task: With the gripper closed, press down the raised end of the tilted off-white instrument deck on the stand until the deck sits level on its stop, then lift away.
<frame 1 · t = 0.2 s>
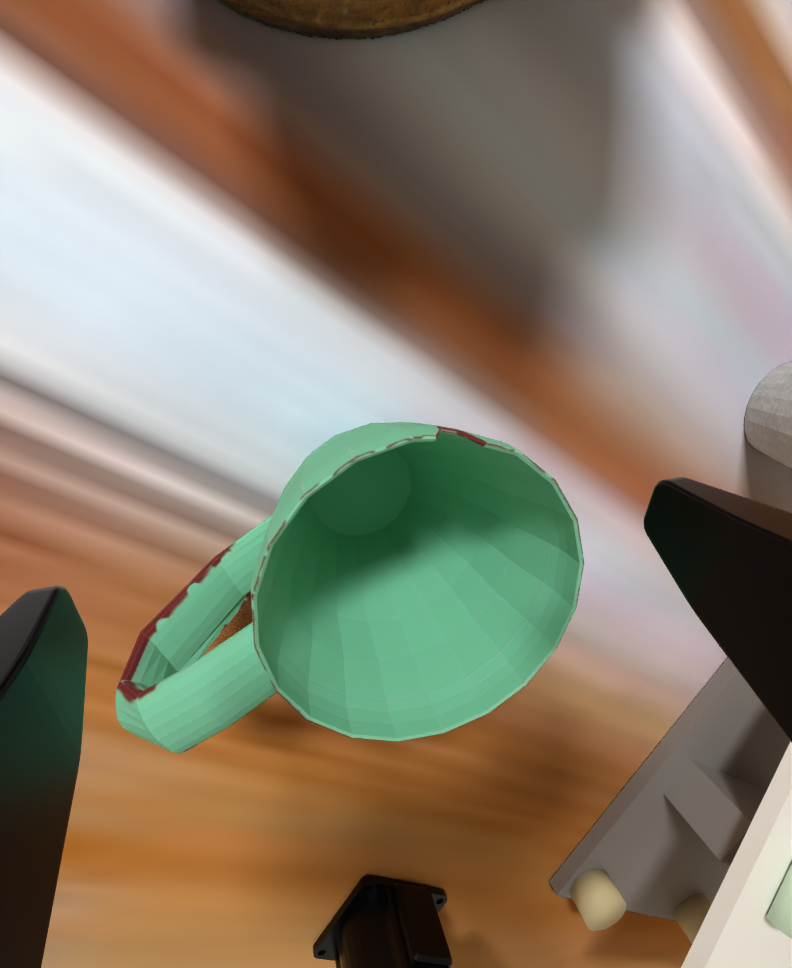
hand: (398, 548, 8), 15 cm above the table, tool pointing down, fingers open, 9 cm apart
stand: (716, 784, 39), on the table
mug: (311, 509, 24), on the table
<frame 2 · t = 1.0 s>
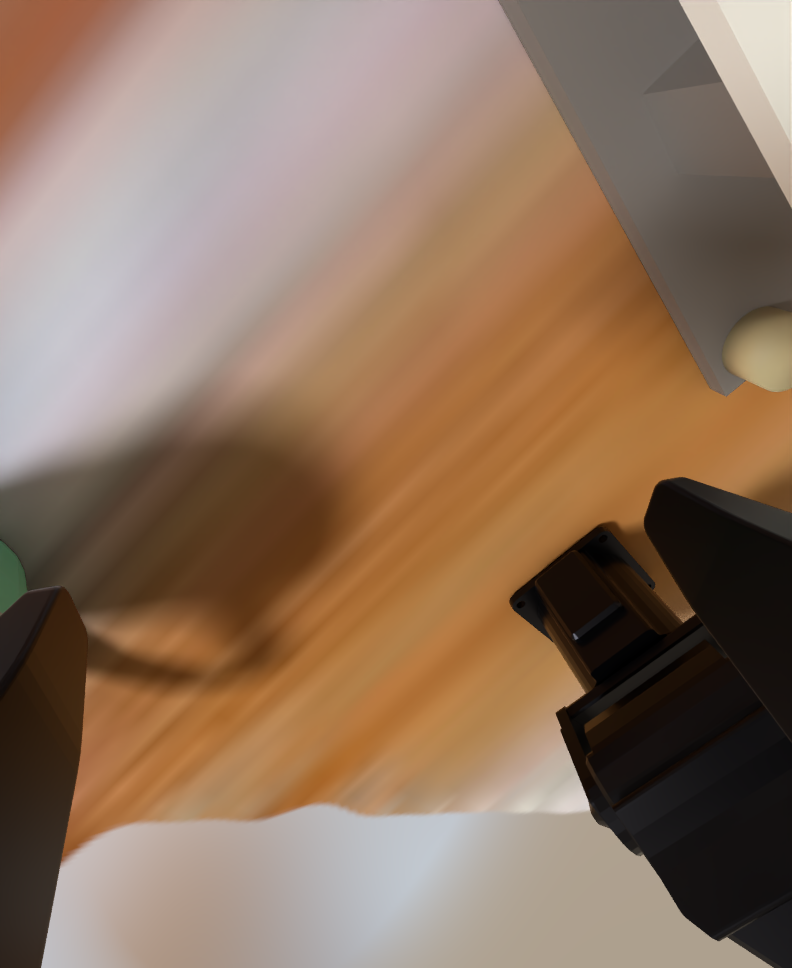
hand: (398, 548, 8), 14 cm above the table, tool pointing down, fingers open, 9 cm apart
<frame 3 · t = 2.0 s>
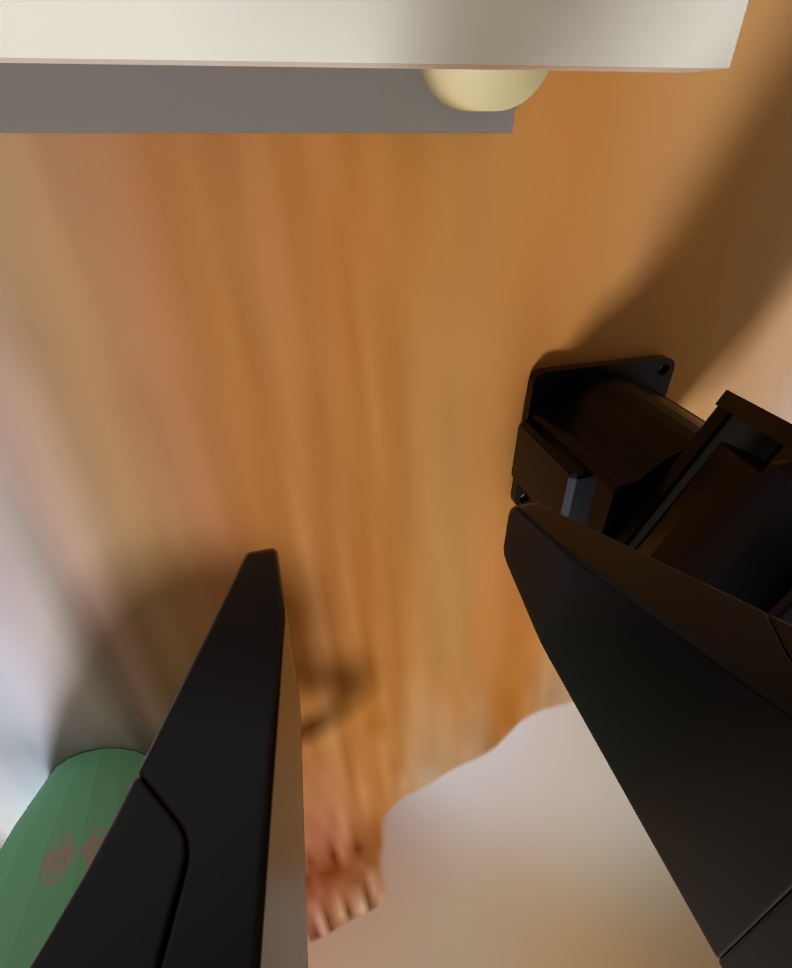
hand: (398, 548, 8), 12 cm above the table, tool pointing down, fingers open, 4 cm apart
mug: (152, 774, 29), on the table
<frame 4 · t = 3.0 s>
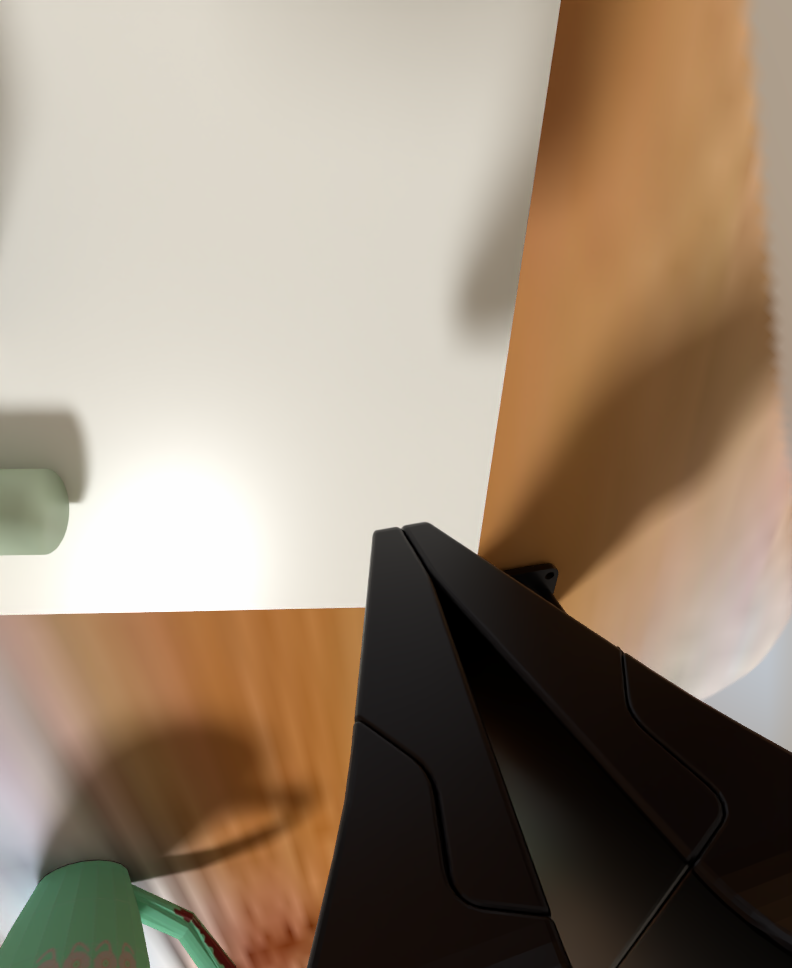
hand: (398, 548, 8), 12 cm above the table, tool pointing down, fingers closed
mug: (126, 877, 34), on the table
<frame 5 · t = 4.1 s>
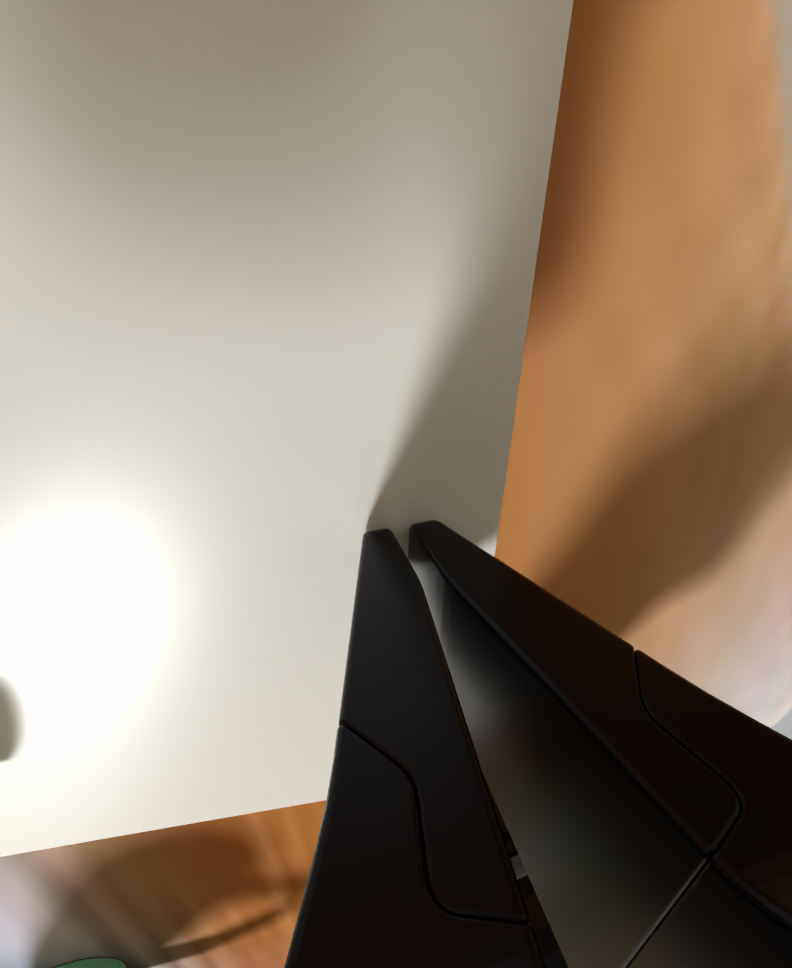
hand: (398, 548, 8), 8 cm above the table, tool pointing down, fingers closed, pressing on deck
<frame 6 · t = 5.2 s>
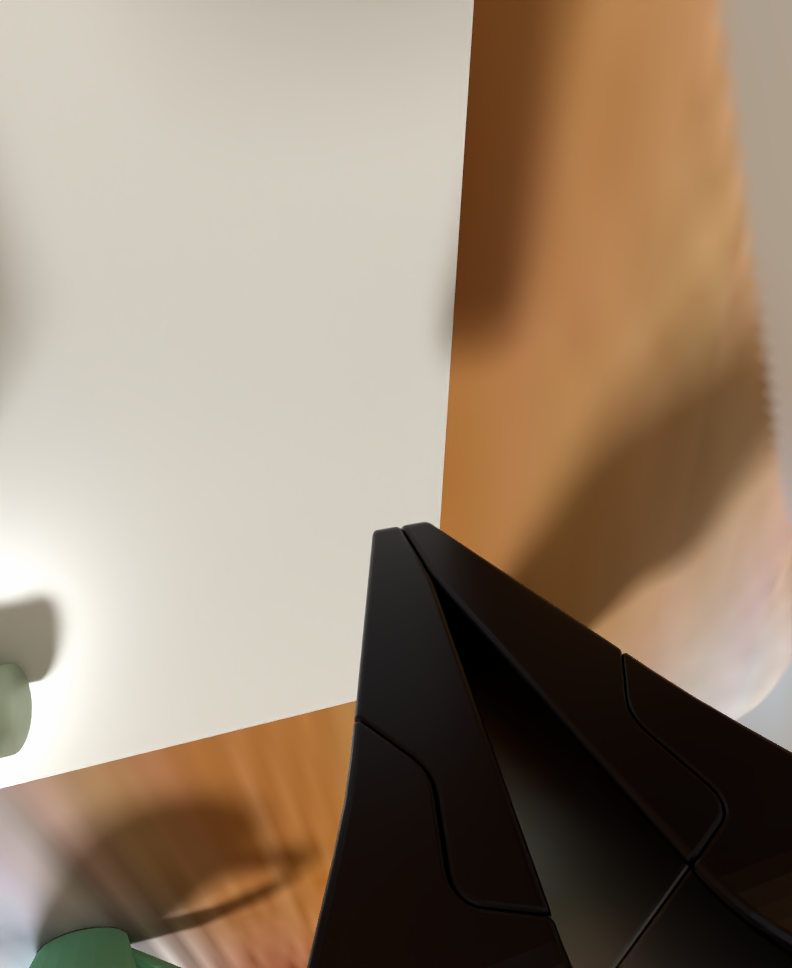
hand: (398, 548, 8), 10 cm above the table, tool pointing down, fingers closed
mug: (126, 939, 34), on the table
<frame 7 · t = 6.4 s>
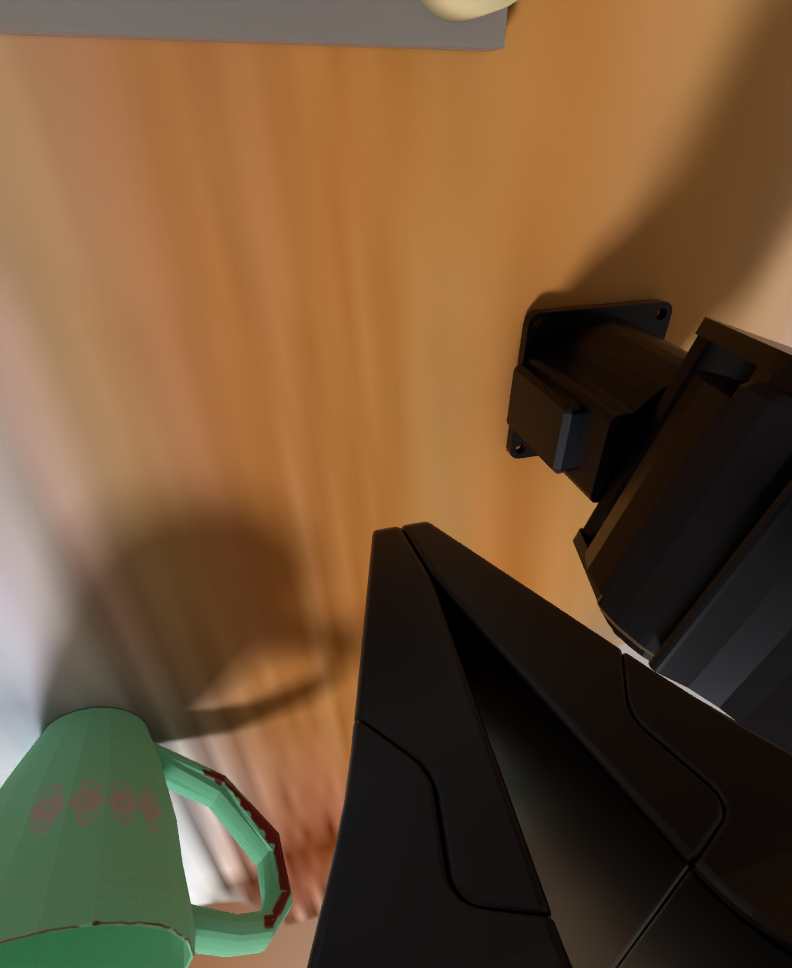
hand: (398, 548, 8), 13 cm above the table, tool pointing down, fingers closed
mug: (146, 737, 29), on the table
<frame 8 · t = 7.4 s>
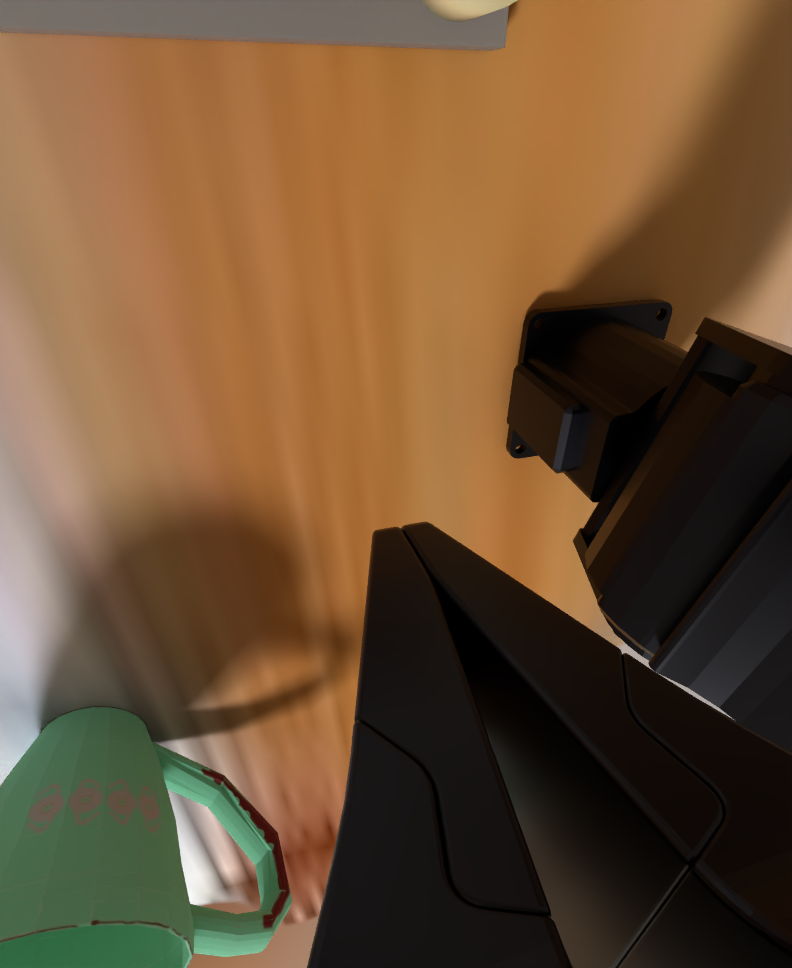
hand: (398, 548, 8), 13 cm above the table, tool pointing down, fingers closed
mug: (145, 737, 29), on the table
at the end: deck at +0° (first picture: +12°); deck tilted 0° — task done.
